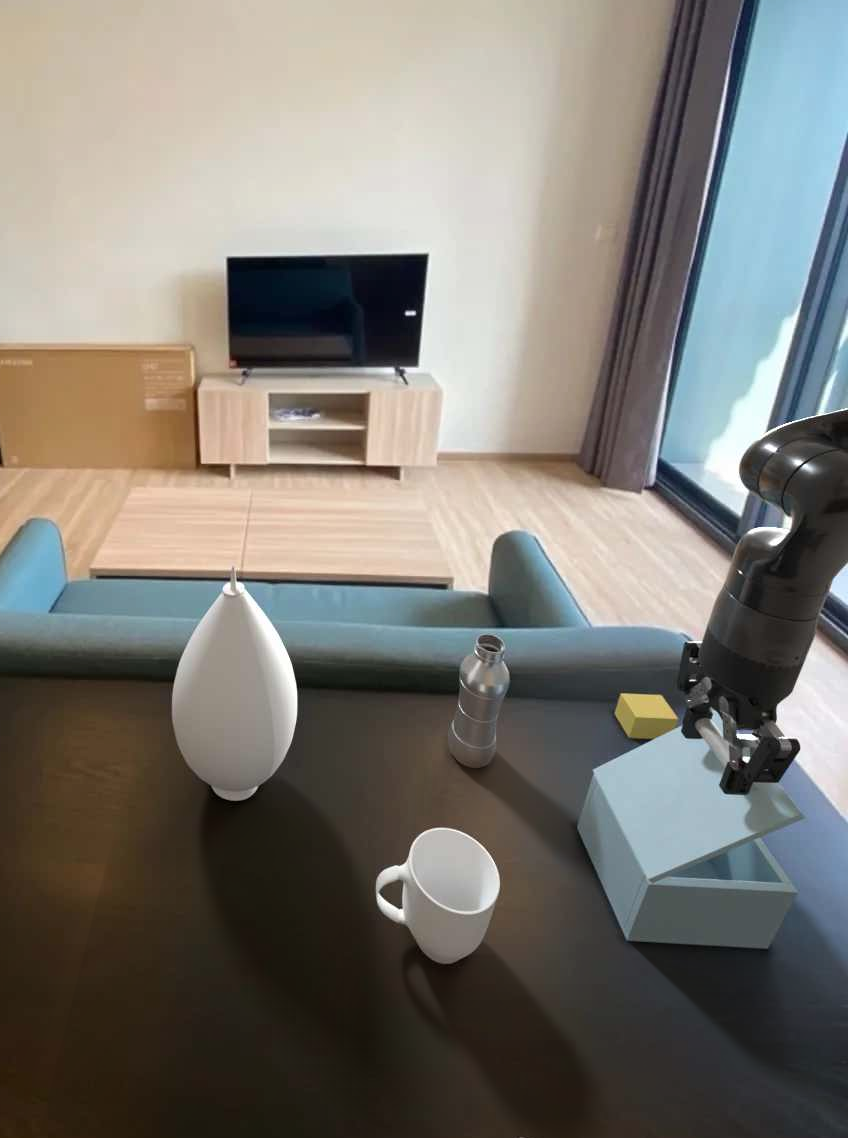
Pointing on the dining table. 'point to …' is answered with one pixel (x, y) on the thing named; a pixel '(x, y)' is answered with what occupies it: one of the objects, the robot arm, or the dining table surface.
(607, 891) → the light blue box
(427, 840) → the mug
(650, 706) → the sponge
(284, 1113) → the dining table surface
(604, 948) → the dining table surface
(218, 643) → the lamp
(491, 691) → the silver metal bottle
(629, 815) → the box lid
